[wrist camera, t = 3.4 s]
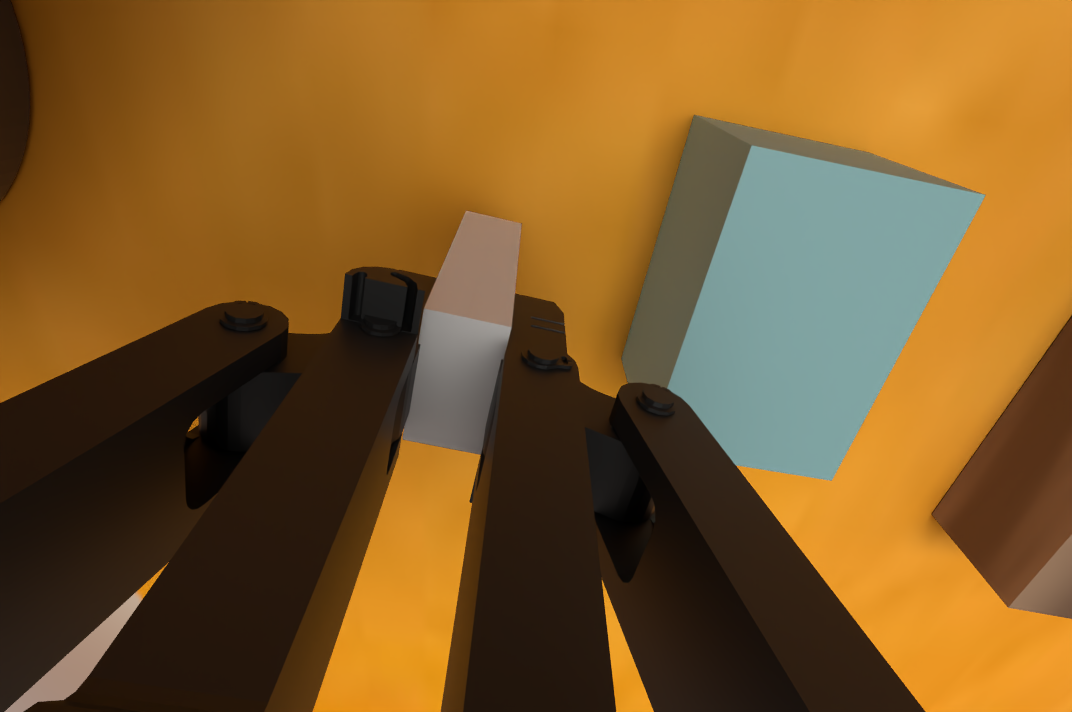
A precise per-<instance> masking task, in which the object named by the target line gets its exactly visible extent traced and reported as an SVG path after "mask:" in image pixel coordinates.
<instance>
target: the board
mask: <svg viewBox="0 0 1072 712" xmlns="http://www.w3.org/2000/svg"><path fill="white" fill-rule="evenodd" d="M932 515H933V517H934V518H935V519H936V520H937V522H938V523H939V524H940V525H941V526H942V528H943V529H944V530H945V531H946V533H947V534H948V535H949V536H950V537H951V539H952V540H953V541H954V542H955V543H956V545H957V546H958V547H959V548H960V550H961V551H962V552H963V553H964V554H965V556H966V557H967V558H968V559H969V560H970V562H971V563H972V564H973V565H974V567H975V568H976V569H977V570H978V571H979V573H980V574H981V575H982V576H983V578H984V579H985V580H986V581H987V582H988V584H989V585H990V586H991V587H992V588H993V590H994V591H995V592H996V593H997V595H998V596H999V597H1000V598H1001V599H1002V601H1003V602H1004V603H1005V604H1006V606H1007V607H1008V608H1013V609H1019V610H1025V611H1030V612H1036V613H1042V614H1048V615H1053V616H1059V617H1065V618H1070V619H1072V317H1071V319H1070V320H1069V321H1068V323H1067V324H1066V326H1065V327H1064V328H1063V330H1062V331H1061V333H1060V334H1059V335H1058V337H1057V338H1056V340H1055V341H1054V343H1053V344H1052V345H1051V347H1050V348H1049V350H1048V351H1047V352H1046V354H1045V355H1044V357H1043V358H1042V359H1041V361H1040V362H1039V364H1038V365H1037V367H1036V368H1035V369H1034V371H1033V372H1032V374H1031V375H1030V376H1029V378H1028V379H1027V381H1026V382H1025V383H1024V385H1023V386H1022V388H1021V389H1020V391H1019V392H1018V393H1017V395H1016V396H1015V398H1014V399H1013V400H1012V402H1011V403H1010V405H1009V406H1008V407H1007V409H1006V410H1005V412H1004V413H1003V415H1002V416H1001V417H1000V419H999V420H998V422H997V423H996V424H995V426H994V427H993V429H992V430H991V431H990V433H989V434H988V436H987V437H986V439H985V440H984V441H983V443H982V444H981V446H980V447H979V448H978V450H977V451H976V453H975V454H974V455H973V457H972V458H971V460H970V461H969V463H968V464H967V465H966V467H965V468H964V470H963V471H962V472H961V474H960V475H959V477H958V478H957V479H956V481H955V482H954V484H953V485H952V487H951V488H950V489H949V491H948V492H947V494H946V495H945V496H944V498H943V499H942V501H941V502H940V503H939V505H938V506H937V508H936V509H935V510H934V512H933V513H932Z"/></svg>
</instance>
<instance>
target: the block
mask: <svg viewBox="0 0 1072 712" xmlns="http://www.w3.org/2000/svg"><path fill="white" fill-rule="evenodd" d="M984 197H985V195H984V194H981V193H978V192H976V191H973V190H970V189H967V188H965V187H962V186H959V185H956V184H954V183H951V182H948V181H946V180H943V179H940V178H937V177H935V176H932V175H929V174H926V173H924V172H921V171H918V170H915V169H913V168H910V167H907V166H904V165H902V164H899V163H896V162H893V161H891V160H888V159H885V158H882V157H880V156H877V155H874V154H871V153H869V152H864V151H859V150H855V149H850V148H845V147H841V146H836V145H831V144H827V143H822V142H818V141H813V140H808V139H804V138H799V137H794V136H790V135H785V134H780V133H776V132H771V131H767V130H762V129H757V128H753V127H748V126H743V125H739V124H734V123H729V122H725V121H720V120H716V119H711V118H706V117H702V116H697V115H694V117H693V120H692V124H691V127H690V130H689V134H688V137H687V140H686V144H685V147H684V150H683V154H682V157H681V160H680V164H679V167H678V170H677V174H676V177H675V181H674V184H673V187H672V191H671V194H670V197H669V201H668V204H667V207H666V211H665V214H664V217H663V221H662V224H661V227H660V231H659V234H658V238H657V241H656V244H655V248H654V251H653V254H652V258H651V261H650V264H649V268H648V271H647V274H646V278H645V281H644V284H643V288H642V291H641V295H640V298H639V301H638V305H637V308H636V311H635V315H634V318H633V321H632V325H631V328H630V331H629V335H628V338H627V341H626V345H625V348H624V352H623V355H622V358H621V359H622V363H623V367H624V371H625V374H626V378H627V382H628V383H640V382H642V383H647V384H656V385H659V386H660V387H665V388H667V389H669V390H670V391H671V392H673V393H674V394H676V395H678V396H679V397H681V398H682V399H683V400H684V401H685V402H686V403H687V404H688V405H689V406H690V407H691V408H692V409H693V411H694V412H695V413H696V415H697V416H698V417H699V418H700V420H701V421H702V422H703V424H704V425H705V426H706V428H707V429H708V430H709V431H710V433H711V434H712V435H713V437H714V438H715V439H716V440H717V442H718V443H719V444H720V446H721V447H722V448H723V450H724V451H725V452H726V453H727V455H728V456H729V457H730V459H731V460H732V461H733V463H734V464H735V465H738V466H744V467H750V468H756V469H763V470H769V471H775V472H781V473H787V474H794V475H800V476H806V477H812V478H818V479H825V480H831V481H832V479H833V477H834V475H835V473H836V471H837V470H838V468H839V466H840V464H841V462H842V460H843V458H844V457H845V455H846V453H847V451H848V449H849V447H850V446H851V444H852V442H853V440H854V438H855V436H856V434H857V433H858V431H859V429H860V427H861V425H862V423H863V421H864V420H865V418H866V416H867V414H868V412H869V410H870V408H871V407H872V405H873V403H874V401H875V399H876V397H877V395H878V394H879V392H880V390H881V388H882V386H883V384H884V382H885V381H886V379H887V377H888V375H889V373H890V371H891V370H892V368H893V366H894V364H895V362H896V360H897V358H898V357H899V355H900V353H901V351H902V349H903V347H904V345H905V344H906V342H907V340H908V338H909V336H910V334H911V332H912V331H913V329H914V327H915V325H916V323H917V321H918V319H919V318H920V316H921V314H922V312H923V310H924V308H925V306H926V305H927V303H928V301H929V299H930V297H931V295H932V293H933V292H934V290H935V288H936V286H937V284H938V282H939V281H940V279H941V277H942V275H943V273H944V271H945V269H946V268H947V266H948V264H949V262H950V260H951V258H952V256H953V255H954V253H955V251H956V249H957V247H958V245H959V243H960V242H961V240H962V238H963V236H964V234H965V232H966V230H967V229H968V227H969V225H970V223H971V221H972V219H973V217H974V216H975V214H976V212H977V210H978V208H979V206H980V205H981V203H982V201H983V199H984Z"/></svg>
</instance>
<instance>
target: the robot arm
mask: <svg viewBox="0 0 1072 712" xmlns="http://www.w3.org/2000/svg"><path fill="white" fill-rule="evenodd" d="M29 117H30V88H29V78H28V68H27V63H26V57H25V51H24V46H23V42H22V38H21V34H20V30H19V26H18V23H17V20H16V16H15V13H14V10H13V7H12V4H11V1H10V0H0V201H1V200H2V199H3V197H4V196H5V194H6V193H7V191H8V189H9V188H10V186H11V184H12V183H13V180H14V178H15V176H16V174H17V172H18V170H19V167H20V164H21V161H22V158H23V155H24V150H25V146H26V142H27V136H28V129H29ZM521 226H522V224H521V223H517V222H513V221H509V220H504V219H500V218H496V217H492V216H487V215H483V214H479V213H474V212H470V211H466V212H465V214H464V217H463V219H462V221H461V224H460V226H459V228H458V231H457V233H456V235H455V237H454V240H453V242H452V244H451V247H450V249H449V251H448V254H447V256H446V258H445V261H444V263H443V265H442V268H441V270H440V272H439V275H438V277H437V278H434V277H430V276H425V275H421V274H416V273H412V272H407V271H402V270H395V269H390V268H383V267H361V268H356V269H352V270H350V271H349V272H347V273H345V281H344V291H343V302H342V312H341V319H340V320H339V322H338V323H337V325H336V326H335V328H334V329H333V330H332V332H331V333H327V334H294V333H288V327H289V324H288V318H287V317H286V316H285V315H284V314H283V313H282V312H281V311H279V310H277V309H274V308H272V307H270V306H266V305H262V304H259V303H257V302H251V301H248V302H246V301H235V302H231V303H221V304H217V305H214V306H211V307H208V308H205V309H203V310H201V311H199V312H197V313H194V314H192V315H190V316H188V317H186V318H184V319H181V320H179V321H177V322H175V323H173V324H171V325H169V326H166V327H164V328H162V329H160V330H158V331H156V332H153V333H151V334H149V335H147V336H145V337H143V338H140V339H138V340H136V341H134V342H132V343H130V344H127V345H125V346H123V347H121V348H119V349H117V350H114V351H112V352H110V353H108V354H106V355H104V356H101V357H99V358H97V359H95V360H93V361H91V362H88V363H86V364H84V365H82V366H80V367H78V368H75V369H73V370H71V371H69V372H67V373H65V374H62V375H60V376H58V377H56V378H54V379H52V380H49V381H47V382H45V383H43V384H41V385H39V386H36V387H34V388H32V389H30V390H28V391H26V392H23V393H21V394H19V395H17V396H15V397H13V398H10V399H8V400H6V401H4V402H2V403H0V712H4V711H6V710H7V709H8V708H9V707H10V706H11V705H12V704H13V703H14V702H15V701H16V700H18V699H19V698H20V697H21V696H22V695H23V694H24V693H25V692H26V691H28V690H29V689H30V688H31V687H32V686H33V685H34V684H35V683H36V682H37V681H38V680H39V679H41V678H42V677H43V676H44V675H45V674H46V673H47V672H48V671H49V670H51V669H52V668H53V667H54V666H55V665H56V664H57V663H58V662H59V661H60V660H62V659H63V658H64V657H65V656H66V655H67V654H68V653H69V652H70V651H71V650H73V649H74V648H75V647H76V646H77V645H78V644H79V643H80V642H81V641H83V640H84V639H85V638H86V637H87V636H88V635H89V634H90V633H91V632H92V631H94V630H95V629H96V628H97V627H98V626H99V625H100V624H101V623H102V622H103V621H105V620H106V618H108V617H109V616H110V615H111V614H112V613H113V612H114V611H115V610H117V609H118V608H119V607H120V606H121V605H122V604H123V603H124V602H125V601H126V600H127V599H129V598H130V597H131V596H132V595H133V594H134V593H135V592H136V591H137V590H139V589H140V588H141V587H142V586H143V585H144V584H145V583H146V582H147V581H148V580H150V579H151V578H152V577H153V576H154V575H155V574H156V573H157V572H158V571H159V570H161V569H162V568H163V567H164V566H165V565H166V564H167V563H168V562H169V563H168V564H167V566H166V567H165V568H164V570H163V571H162V573H161V574H160V576H159V577H158V578H157V580H156V581H155V583H154V584H153V586H152V587H151V588H150V590H149V591H148V593H147V594H146V595H145V597H144V598H143V600H142V601H141V603H140V604H139V605H138V607H137V608H136V610H135V611H134V612H133V614H132V616H131V617H130V618H129V620H128V621H127V622H126V624H125V625H124V627H123V628H122V629H121V631H120V632H119V634H118V635H117V637H116V638H115V640H114V641H113V642H112V644H111V645H110V647H109V648H108V649H107V651H106V652H105V654H104V655H103V656H102V658H101V659H100V661H99V662H98V664H97V665H96V666H95V668H94V669H93V671H92V672H91V674H90V675H89V676H88V677H87V679H86V680H85V681H84V682H83V684H82V685H81V686H80V687H79V688H78V690H77V691H76V692H74V693H73V694H72V695H70V696H69V697H67V698H66V699H65V700H59V701H46V702H37V703H36V704H34V705H33V706H31V707H30V708H28V709H27V710H26V711H24V712H312V711H313V708H314V706H315V703H316V700H317V697H318V694H319V691H320V688H321V685H322V682H323V679H324V676H325V673H326V670H327V667H328V664H329V661H330V658H331V655H332V652H333V649H334V646H335V643H336V640H337V637H338V634H339V631H340V628H341V625H342V622H343V619H344V616H345V613H346V610H347V607H348V604H349V601H350V598H351V595H352V592H353V589H354V586H355V583H356V580H357V577H358V574H359V571H360V568H361V565H362V562H363V559H364V556H365V553H366V550H367V548H368V545H369V542H370V539H371V536H372V533H373V530H374V527H375V524H376V521H377V518H378V515H379V512H380V509H381V506H382V503H383V500H384V497H385V494H386V491H387V488H388V485H389V482H390V479H391V476H392V473H393V470H394V467H395V464H396V461H397V458H398V454H399V448H400V442H401V436H402V432H403V429H404V433H403V440H408V441H413V442H418V443H424V444H429V445H434V446H439V447H444V448H449V449H455V450H460V451H465V452H470V453H475V454H480V455H481V456H480V460H479V464H478V469H477V473H476V477H475V481H474V485H473V490H472V494H471V498H470V503H472V508H471V514H470V521H469V528H468V534H467V541H466V547H465V554H464V561H463V567H462V574H461V581H460V587H459V594H458V601H457V607H456V614H455V621H454V627H453V634H452V641H451V647H450V654H449V660H448V667H447V674H446V680H445V687H444V694H443V700H442V707H441V712H616V705H615V696H614V687H613V678H612V669H611V660H610V651H609V642H608V633H607V624H606V615H605V606H604V597H603V588H602V580H603V583H604V585H605V588H606V590H607V593H608V595H609V598H610V600H611V603H612V606H613V608H614V611H615V613H616V616H617V618H618V621H619V623H620V626H621V629H622V631H623V634H624V636H625V639H626V641H627V644H628V646H629V649H630V652H631V654H632V657H633V659H634V662H635V664H636V667H637V669H638V672H639V675H640V677H641V680H642V682H643V685H644V687H645V690H646V692H647V695H648V698H649V700H650V703H651V705H652V708H653V710H654V712H925V711H924V709H923V708H922V707H921V705H920V704H919V703H918V702H917V700H916V699H915V698H914V696H913V695H912V694H911V692H910V691H909V690H908V689H907V687H906V686H905V685H904V683H903V682H902V681H901V679H900V678H899V677H898V676H897V674H896V673H895V672H894V670H893V669H892V668H891V666H890V665H889V664H888V663H887V661H886V660H885V659H884V657H883V656H882V655H881V654H880V652H879V651H878V650H877V648H876V647H875V646H874V644H873V643H872V642H871V641H870V639H869V638H868V637H867V635H866V634H865V633H864V631H863V630H862V629H861V628H860V626H859V625H858V624H857V622H856V621H855V620H854V618H853V617H852V616H851V615H850V613H849V612H848V611H847V609H846V608H845V607H844V605H843V604H842V603H841V602H840V600H839V599H838V598H837V596H836V595H835V594H834V592H833V591H832V590H831V589H830V587H829V586H828V585H827V583H826V582H825V581H824V579H823V578H822V577H821V576H820V574H819V573H818V572H817V570H816V569H815V568H814V566H813V565H812V564H811V563H810V561H809V560H808V559H807V557H806V556H805V555H804V553H803V552H802V551H801V550H800V548H799V547H798V546H797V544H796V543H795V542H794V541H793V539H792V538H791V537H790V535H789V534H788V533H787V531H786V530H785V529H784V528H783V526H782V525H781V524H780V522H779V521H778V520H777V518H776V517H775V516H774V515H773V513H772V512H771V511H770V509H769V508H768V507H767V505H766V504H765V503H764V502H763V500H762V499H761V498H760V496H759V495H758V494H757V492H756V491H755V490H754V489H753V487H752V486H751V485H750V483H749V482H748V481H747V479H746V478H745V477H744V476H743V474H742V473H741V472H740V470H739V469H738V468H737V466H736V465H735V464H734V463H733V461H732V460H731V459H730V457H729V456H728V455H727V453H726V452H725V451H724V450H723V448H722V447H721V446H720V444H719V443H718V442H717V440H716V439H715V438H714V437H713V435H712V434H711V433H710V431H709V430H708V429H707V428H706V426H705V425H704V424H703V422H702V421H701V420H700V418H699V417H698V416H697V415H696V413H695V412H694V411H693V409H692V408H691V407H690V406H689V405H688V404H687V403H686V402H685V401H684V400H683V399H682V398H681V397H679V396H678V395H676V394H674V393H673V392H671V391H670V390H669V389H667V388H665V387H660V386H659V385H656V384H647V383H642V382H640V383H628V384H626V385H623V386H621V388H620V390H619V392H618V394H617V397H616V398H613V397H611V396H608V395H605V394H603V393H600V392H598V391H596V390H594V389H591V388H589V387H588V386H586V385H585V384H583V383H581V382H580V380H579V371H578V367H577V364H576V362H575V361H574V360H573V359H572V358H571V357H570V356H569V355H568V354H567V347H566V335H565V326H564V313H563V312H562V311H561V310H560V309H559V307H558V306H557V305H556V304H555V303H554V302H550V301H546V300H541V299H537V298H532V297H528V296H523V295H519V294H515V287H516V277H517V267H518V257H519V247H520V237H521ZM198 416H199V425H198V426H196V427H195V428H194V429H192V430H191V431H189V432H188V430H189V428H190V426H191V425H192V423H193V421H194V420H195V419H196V418H197V417H198ZM404 426H405V427H404ZM601 577H602V579H601Z"/></svg>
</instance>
